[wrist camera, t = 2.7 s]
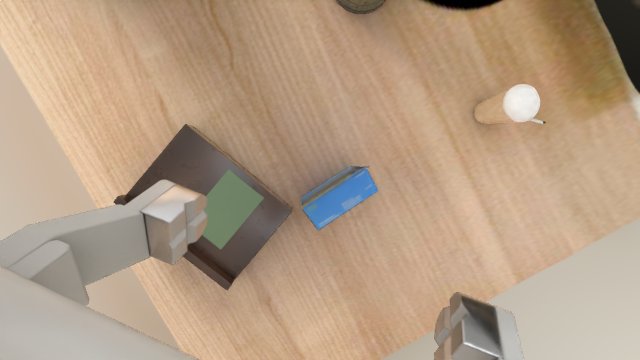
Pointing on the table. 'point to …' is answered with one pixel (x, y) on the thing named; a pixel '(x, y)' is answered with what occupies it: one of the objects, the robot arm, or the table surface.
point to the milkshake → (510, 106)
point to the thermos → (361, 5)
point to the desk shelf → (217, 203)
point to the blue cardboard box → (338, 195)
